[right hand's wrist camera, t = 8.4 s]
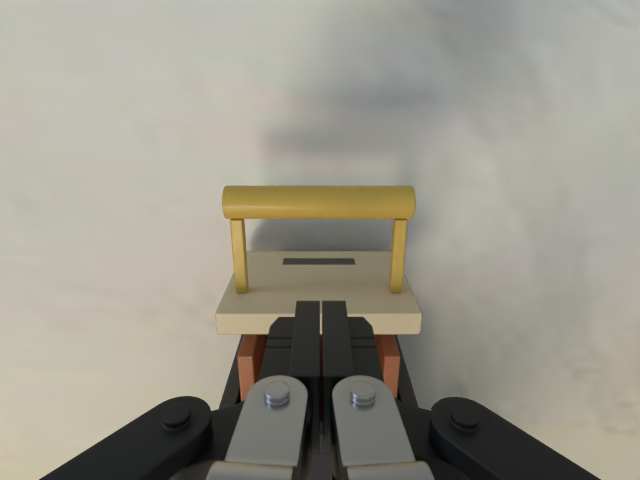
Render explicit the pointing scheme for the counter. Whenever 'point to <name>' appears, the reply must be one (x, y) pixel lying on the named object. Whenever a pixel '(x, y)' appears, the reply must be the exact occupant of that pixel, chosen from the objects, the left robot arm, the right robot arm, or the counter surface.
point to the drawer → (317, 271)
